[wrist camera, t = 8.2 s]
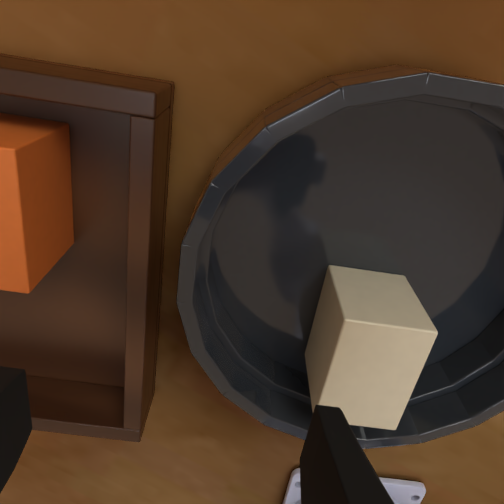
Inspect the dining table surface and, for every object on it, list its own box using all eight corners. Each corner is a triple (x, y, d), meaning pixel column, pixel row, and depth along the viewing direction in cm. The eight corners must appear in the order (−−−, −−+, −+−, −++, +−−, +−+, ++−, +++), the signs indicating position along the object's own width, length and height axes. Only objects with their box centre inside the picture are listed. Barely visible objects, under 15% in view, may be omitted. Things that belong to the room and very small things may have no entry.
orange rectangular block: (74, 243, 18) (29, 294, 15) (-8, 231, 18) (-74, 280, 14) (69, 122, 16) (14, 149, 12) (-25, 108, 16) (-109, 130, 12)
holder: (154, 393, 23) (140, 442, 20) (-51, 367, 22) (-95, 415, 19) (174, 81, 16) (156, 92, 13) (-125, 32, 15) (-211, 33, 12)
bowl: (467, 401, 23) (503, 466, 19) (180, 364, 22) (165, 425, 18) (623, 102, 16) (723, 121, 12) (212, 32, 15) (198, 32, 12)
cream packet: (372, 363, 21) (396, 431, 17) (304, 354, 21) (313, 421, 17) (405, 274, 19) (439, 332, 15) (328, 263, 18) (344, 319, 15)
